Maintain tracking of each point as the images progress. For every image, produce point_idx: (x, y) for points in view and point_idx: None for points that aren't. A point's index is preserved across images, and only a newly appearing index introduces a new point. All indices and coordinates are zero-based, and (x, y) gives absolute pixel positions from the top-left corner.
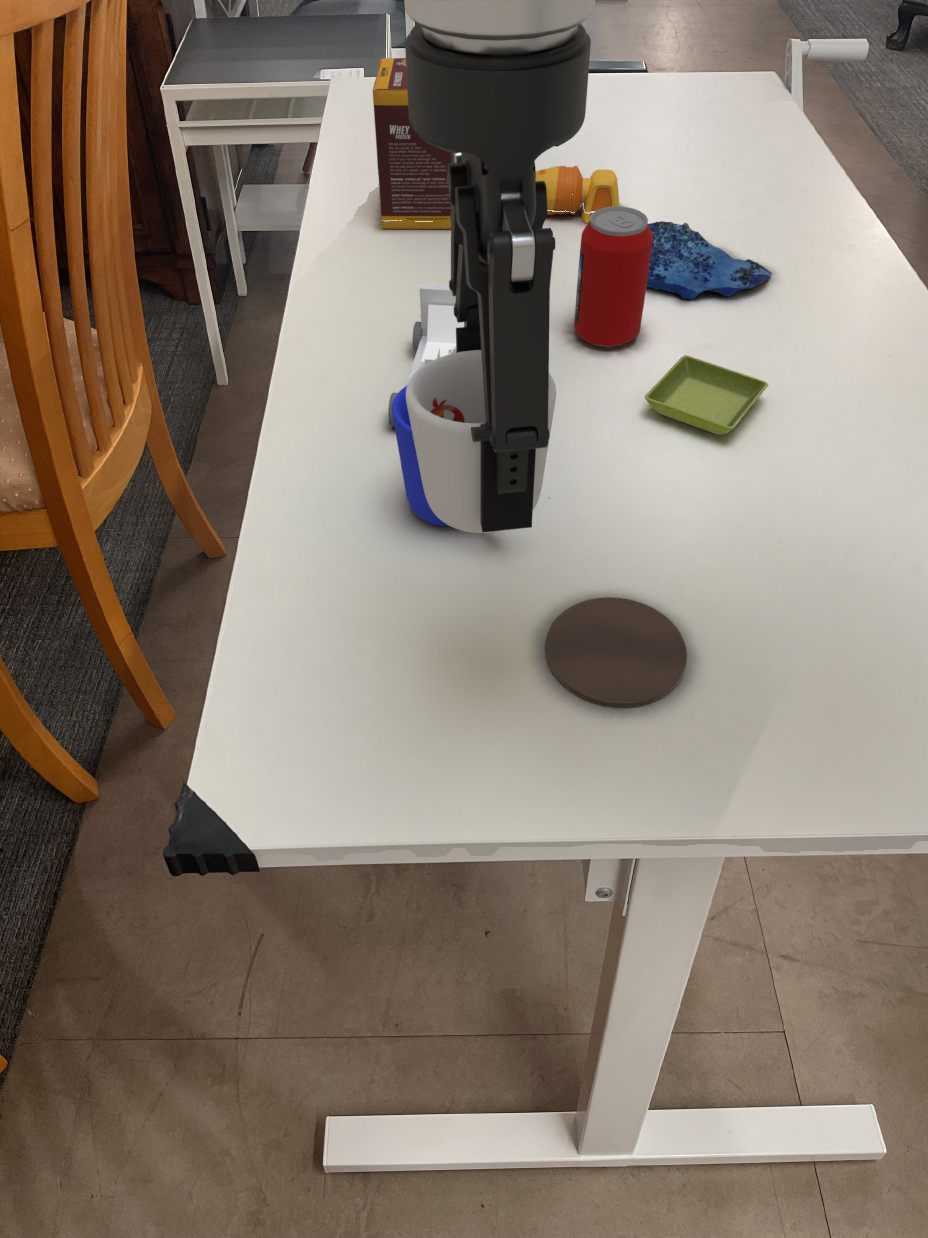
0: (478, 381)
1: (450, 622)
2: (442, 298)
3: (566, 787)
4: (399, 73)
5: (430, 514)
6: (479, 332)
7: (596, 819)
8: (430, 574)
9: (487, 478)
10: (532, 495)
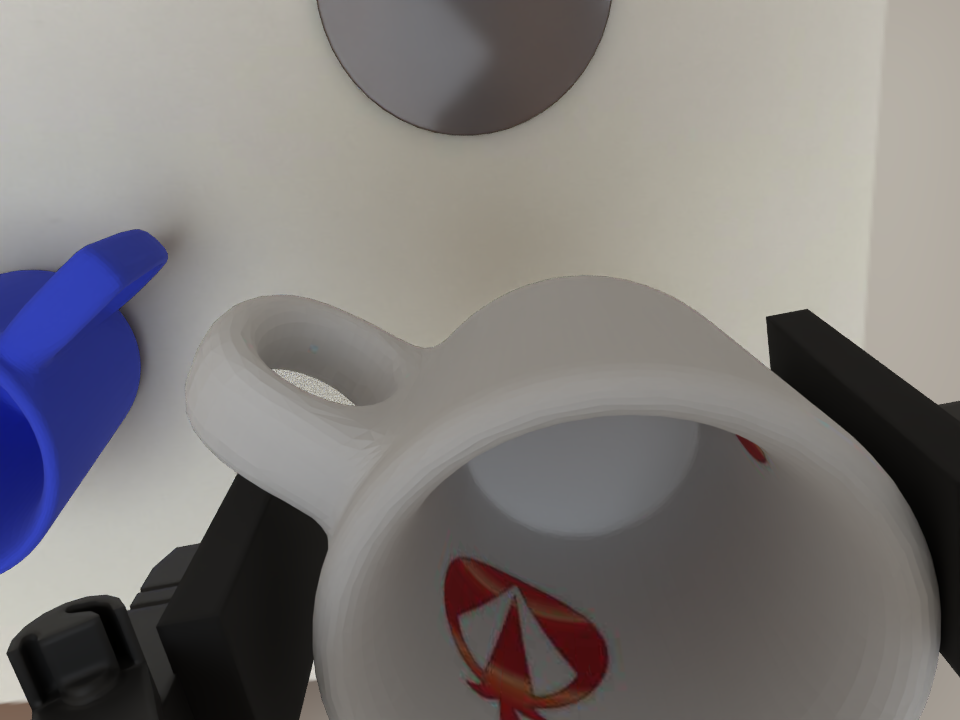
0: (396, 610)
1: (404, 322)
2: None
3: (787, 96)
4: None
5: (134, 395)
6: (247, 715)
7: (856, 42)
8: (277, 369)
9: None
10: (857, 350)
